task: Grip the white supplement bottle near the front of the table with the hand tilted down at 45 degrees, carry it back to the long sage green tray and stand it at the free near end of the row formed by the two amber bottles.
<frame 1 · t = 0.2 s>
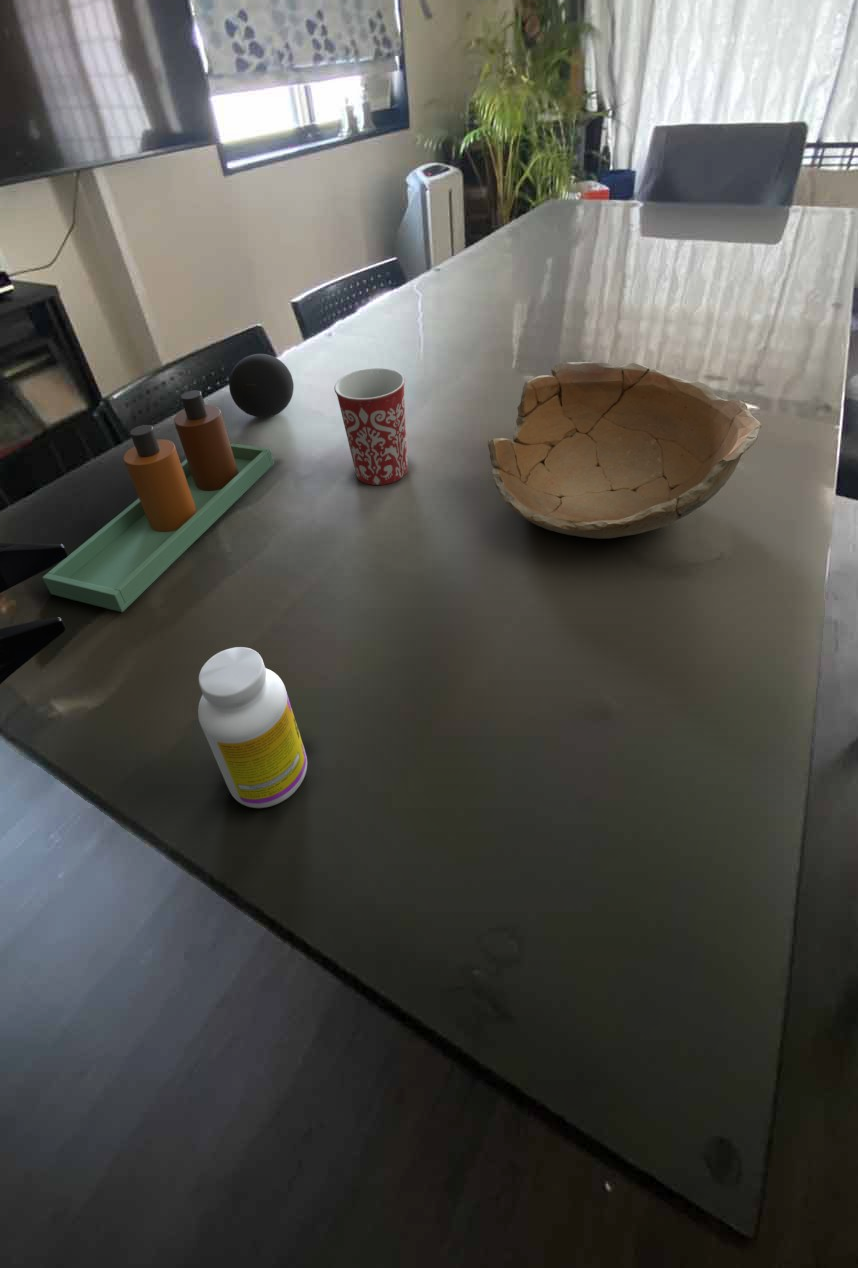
hand: (64, 584, 51), 18 cm above the table, tool horizontal, fingers open, 9 cm apart
supplement bottle: (269, 775, 57), on the table
ceramic bowl: (610, 497, 85), on the table
dark amber bottle: (217, 479, 95), point 1 cm above the table, touching tray
amber bottle: (173, 518, 88), point 1 cm above the table, touching tray
mug: (384, 465, 96), on the table
tray: (175, 521, 88), on the table
speaker: (268, 414, 112), on the table
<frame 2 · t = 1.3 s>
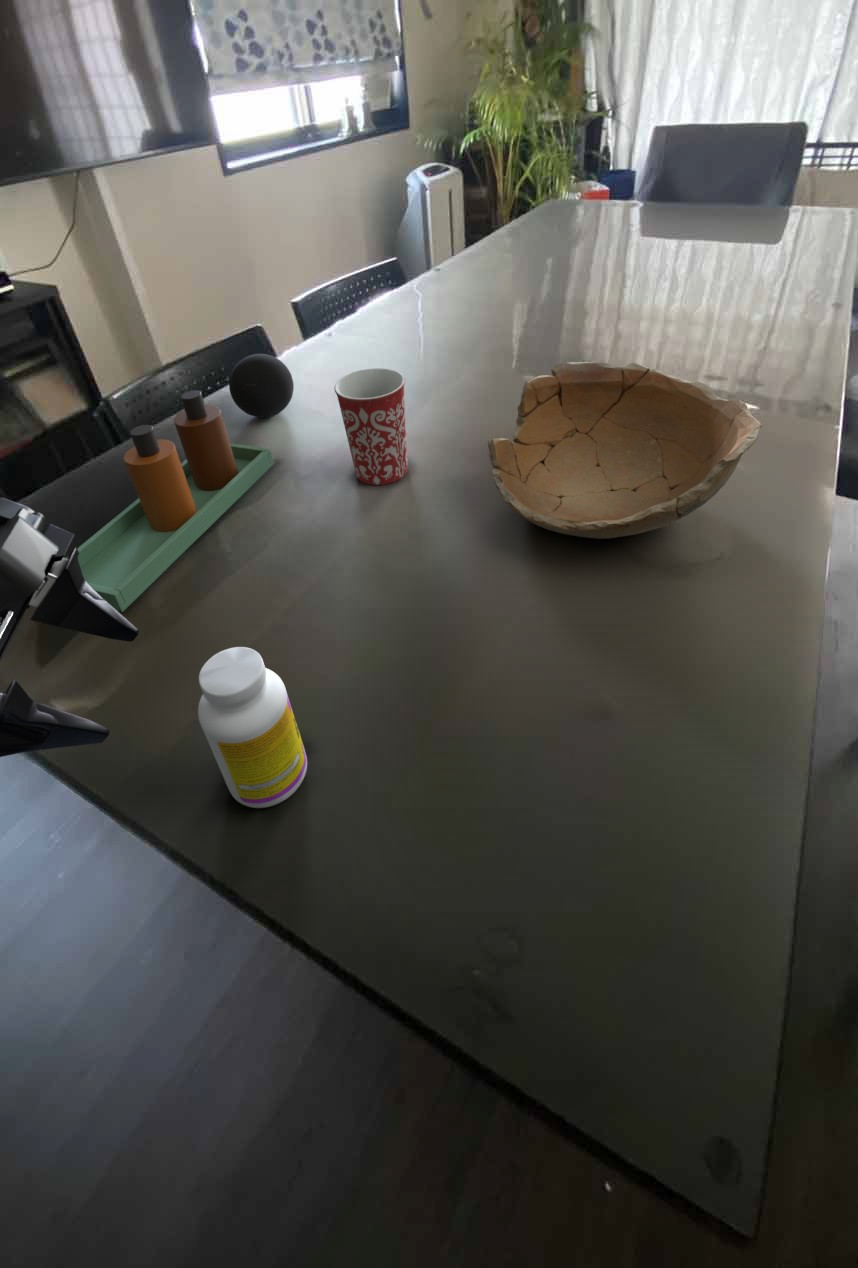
hand: (122, 682, 49), 13 cm above the table, tool tilted 45°, fingers open, 9 cm apart
nothing on the table moved.
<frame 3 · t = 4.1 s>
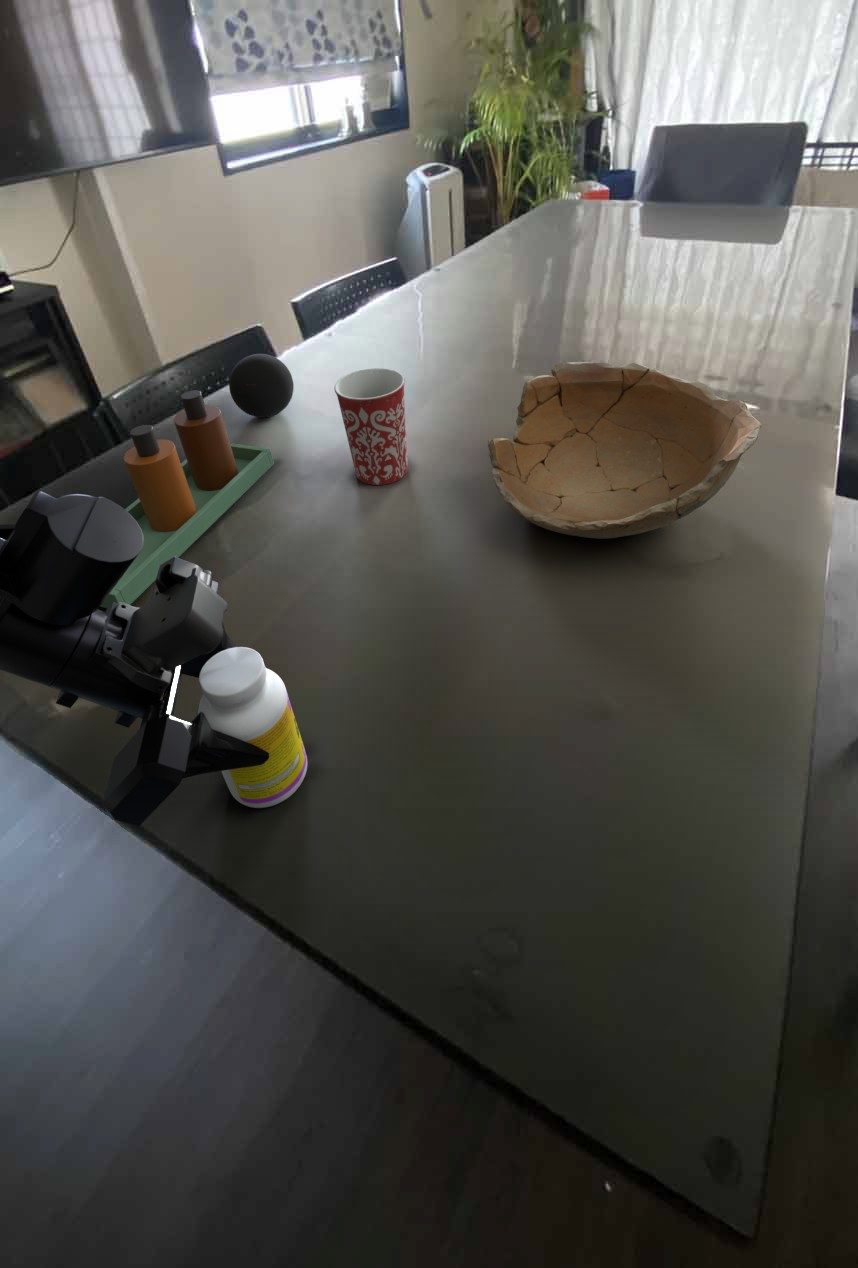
hand: (268, 721, 53), 7 cm above the table, tool tilted 45°, fingers closed on supplement bottle, 6 cm apart
supplement bottle: (269, 775, 57), on the table, touching gripper
everything else where it was.
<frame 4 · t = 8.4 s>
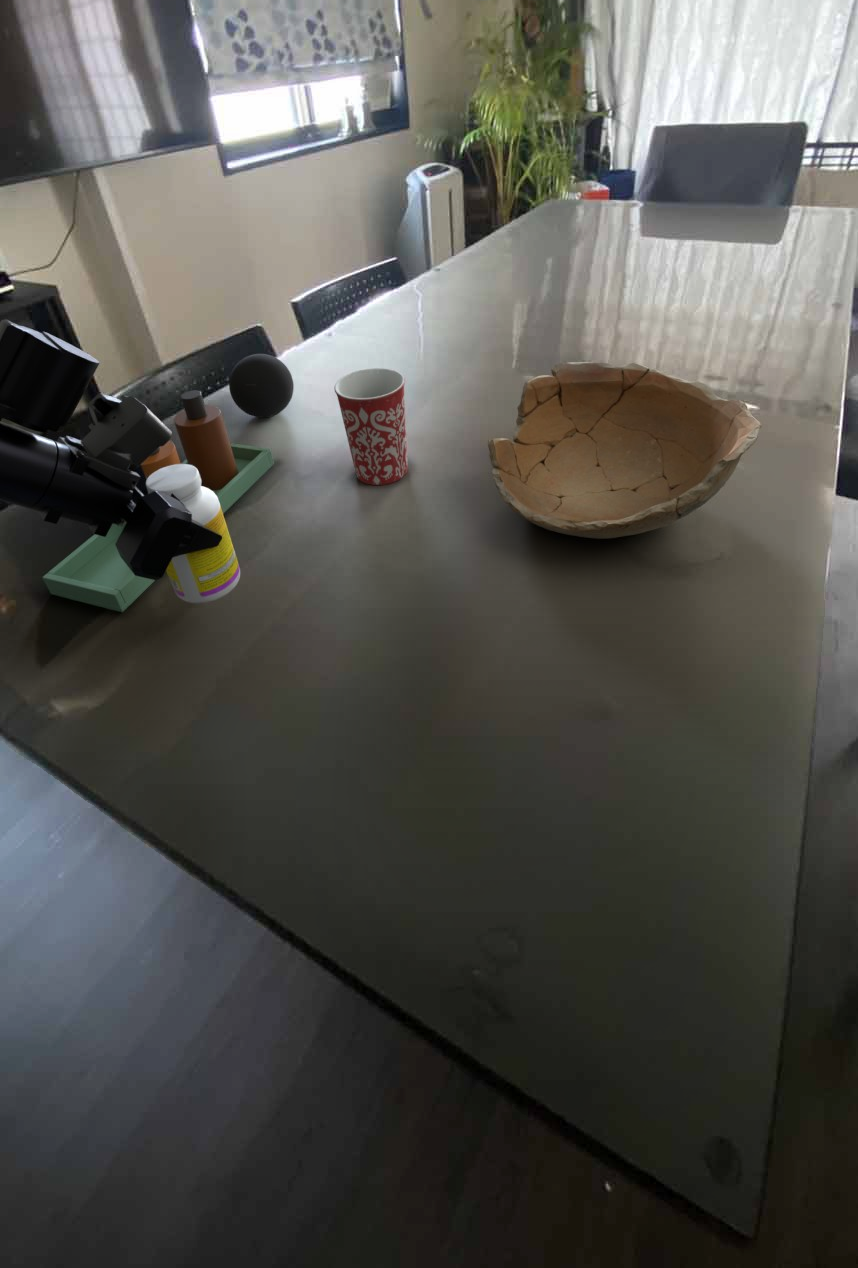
hand: (204, 525, 66), 12 cm above the table, tool tilted 45°, fingers closed on supplement bottle, 6 cm apart
supplement bottle: (209, 585, 69), point 5 cm above the table, touching gripper
everything else where it was.
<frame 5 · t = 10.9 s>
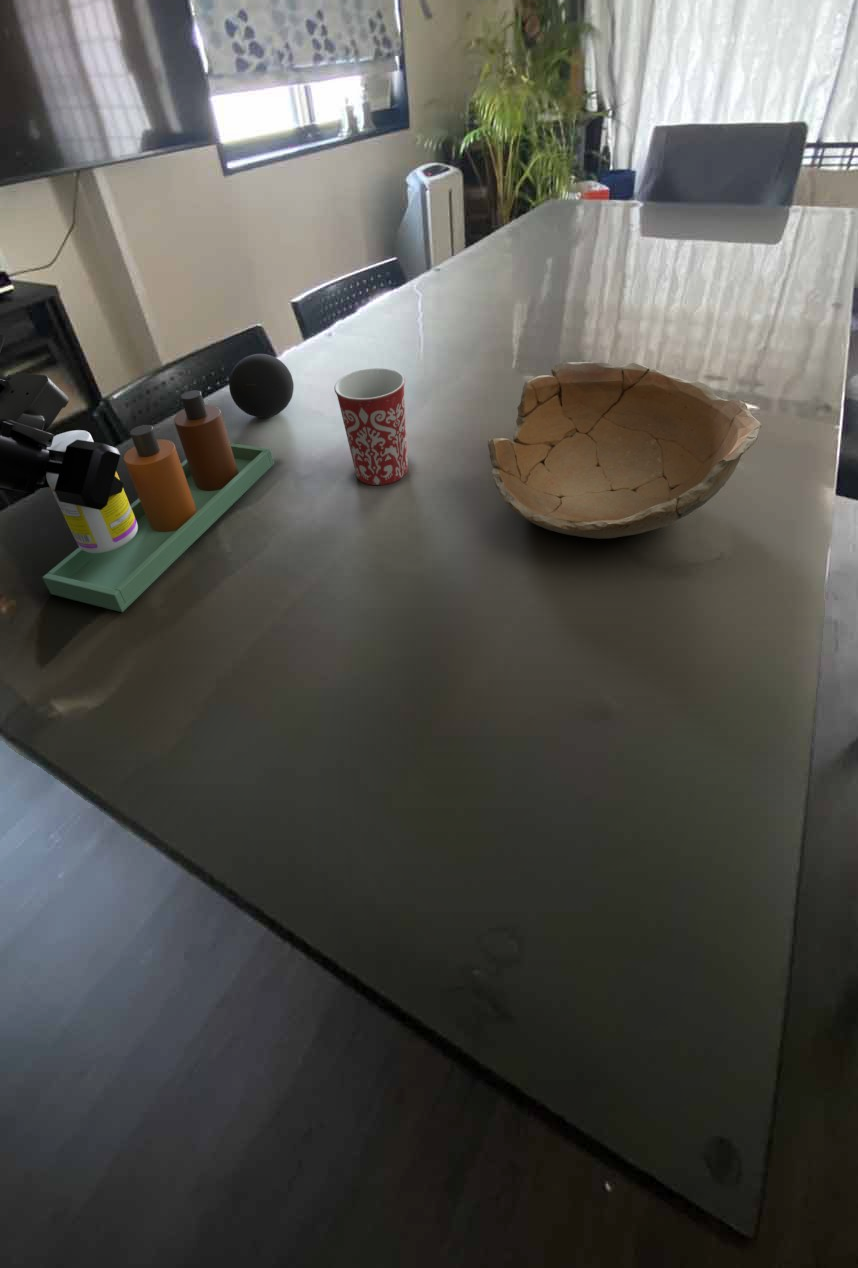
hand: (97, 483, 76), 11 cm above the table, tool tilted 45°, fingers closed on supplement bottle, 6 cm apart
supplement bottle: (110, 539, 79), point 5 cm above the table, touching gripper
everything else where it was.
when the fingers open (7 cm above the table, at t = 12.6 s): supplement bottle stays where it is, resting on tray.
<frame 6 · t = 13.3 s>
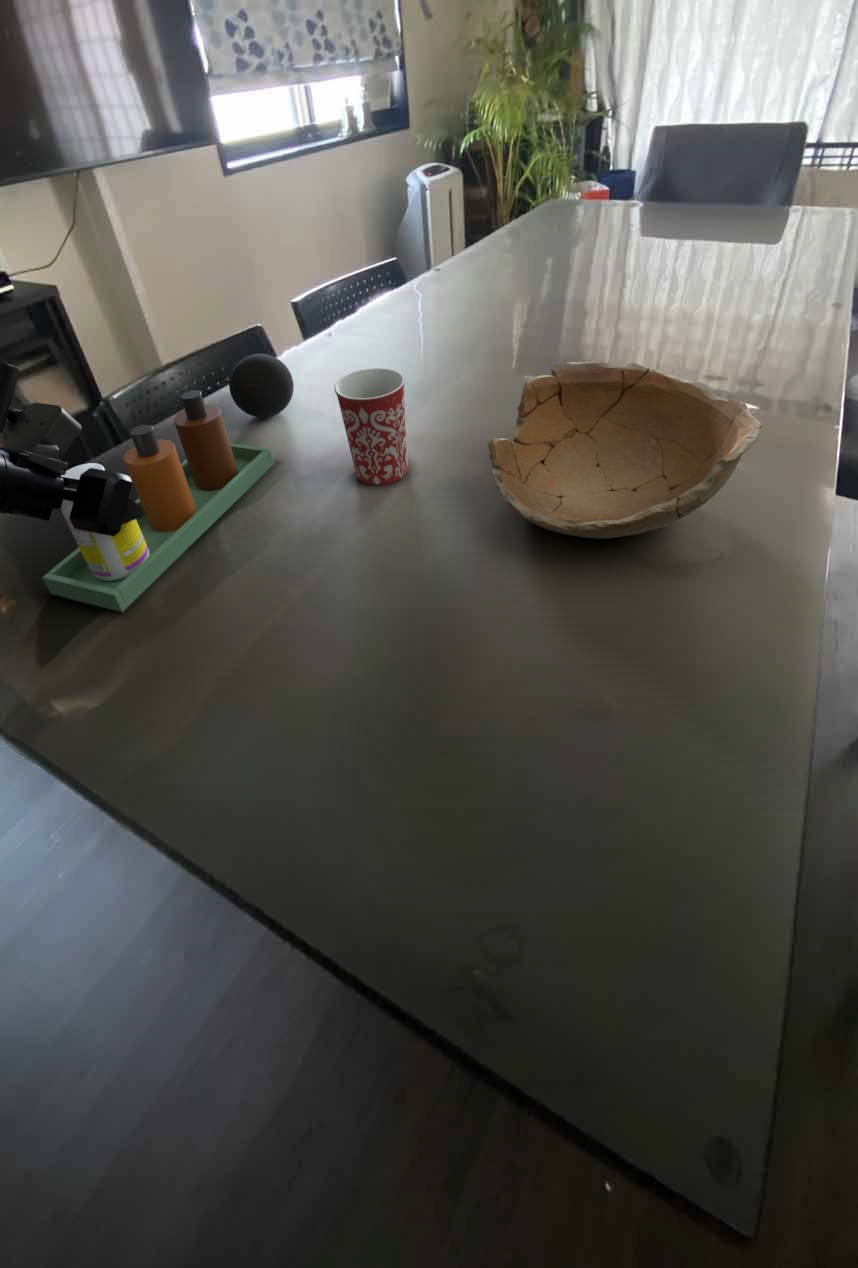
hand: (109, 506, 78), 8 cm above the table, tool tilted 45°, fingers open, 9 cm apart
supplement bottle: (122, 566, 81), resting on tray
everything else where it was.
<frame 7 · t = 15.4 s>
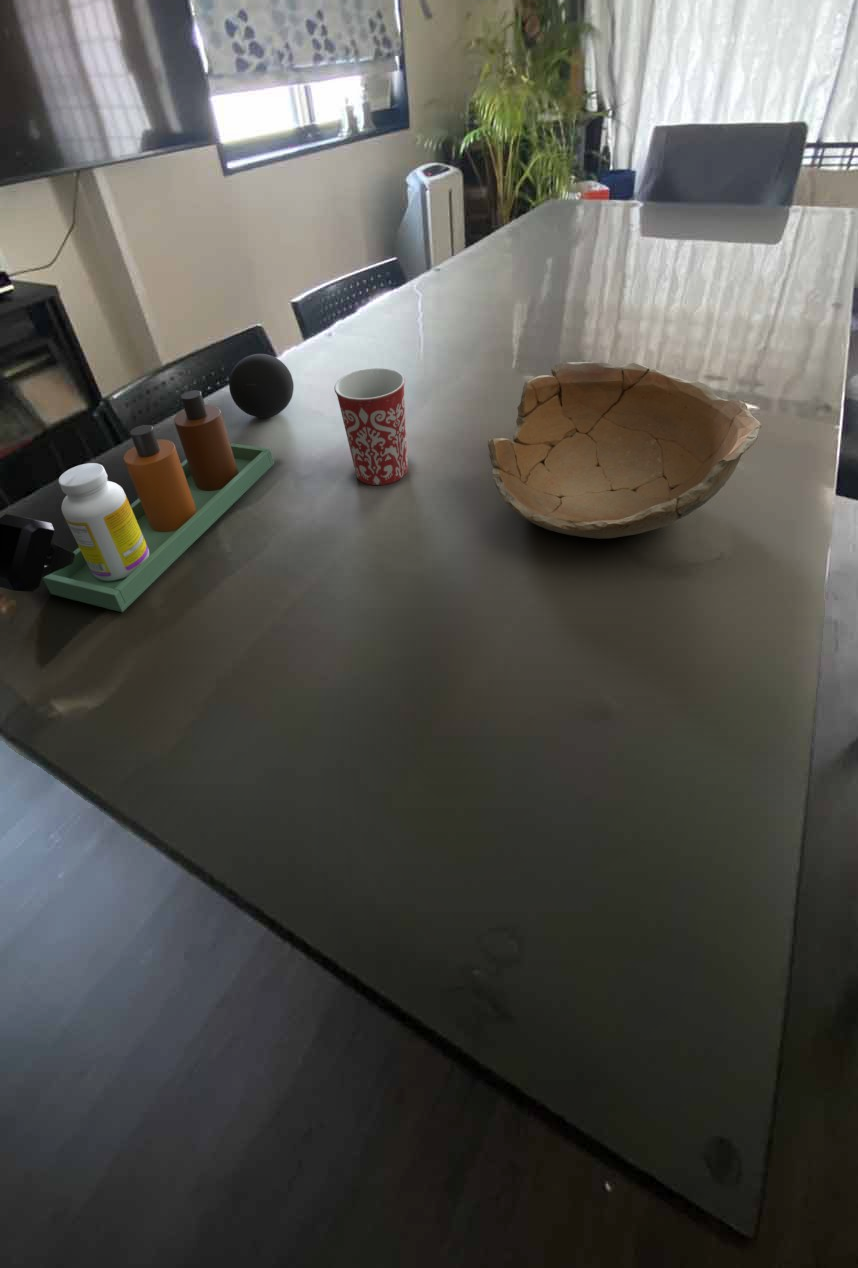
hand: (38, 550, 70), 9 cm above the table, tool tilted 45°, fingers open, 9 cm apart
nothing on the table moved.
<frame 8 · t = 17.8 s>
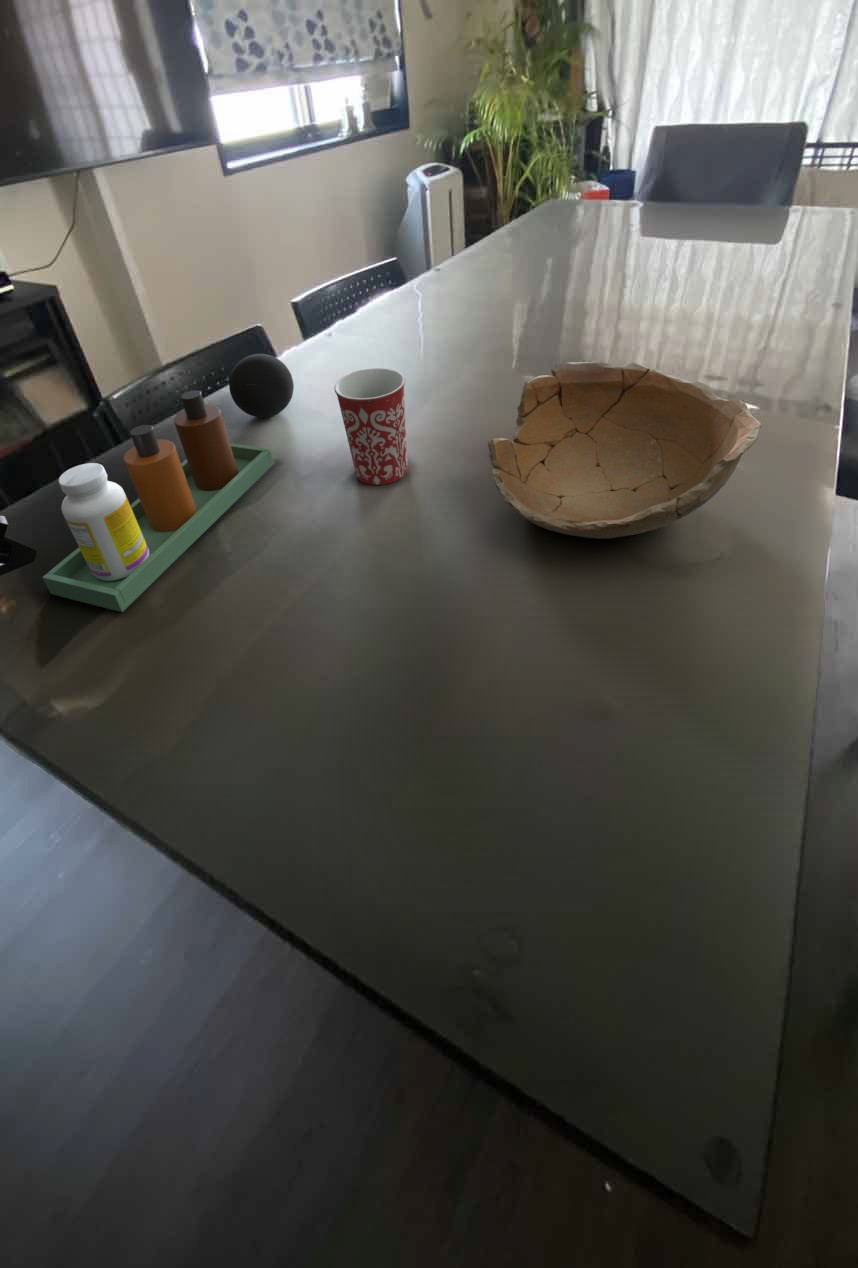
nothing on the table moved.
at the end: supplement bottle 0.1 cm from the target spot in the tray, point 0.4 cm above the tray's base; supplement bottle tilted 0°; the gripper is holding nothing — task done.
